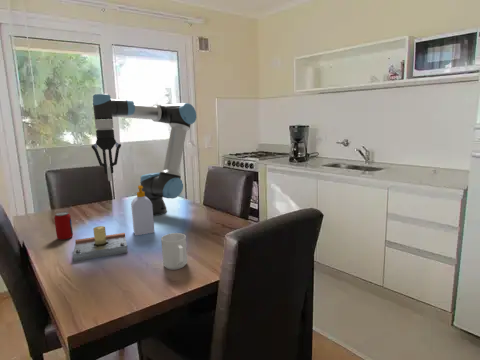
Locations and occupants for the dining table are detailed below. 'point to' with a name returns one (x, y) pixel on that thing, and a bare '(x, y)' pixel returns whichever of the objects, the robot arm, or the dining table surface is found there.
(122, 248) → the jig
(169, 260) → the mug
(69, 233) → the beverage can
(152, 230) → the soap bottle
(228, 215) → the dining table surface
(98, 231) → the brass cylinder
